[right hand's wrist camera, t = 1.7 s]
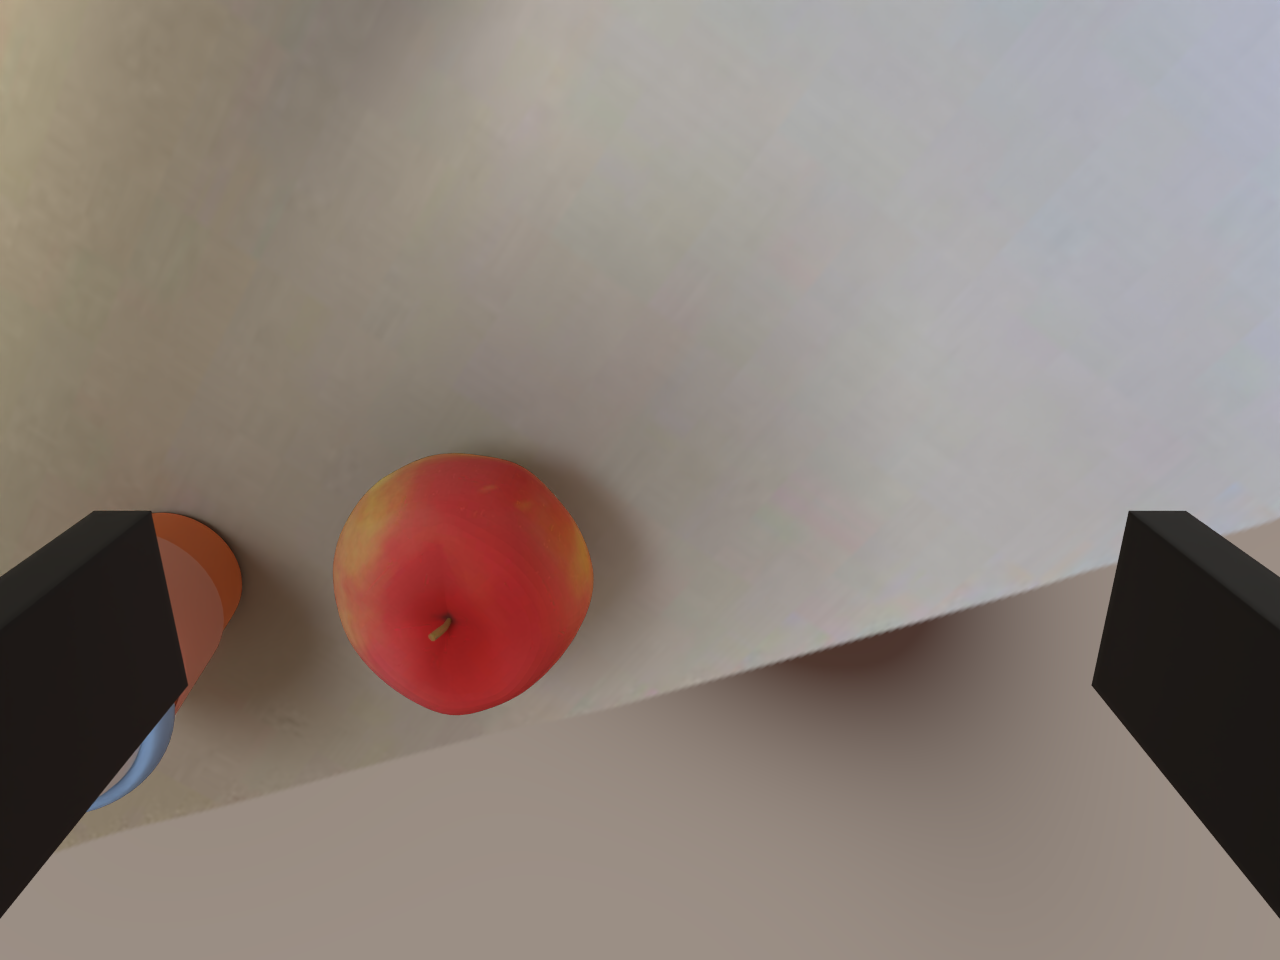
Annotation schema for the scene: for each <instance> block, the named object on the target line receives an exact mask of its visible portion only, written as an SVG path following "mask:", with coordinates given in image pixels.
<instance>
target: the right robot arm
mask: <svg viewBox="0 0 1280 960" xmlns="http://www.w3.org/2000/svg"><path fill="white" fill-rule="evenodd" d="M187 686H188V681H187V677H186V672H185V667H184V663H183V658H182V653H181V649H180V644H179V639H178V634H177V630H176V625H175V620H174V616H173V611H172V606H171V602H170V597H169V592H168V588H167V583H166V578H165V573H164V569H163V564H162V559H161V555H160V550H159V545H158V541H157V536H156V531H155V527H154V522H153V517H152V513H151V511H93V512H92V513H90V514H89V515H88V516H86V517H85V518H83V519H82V520H81V521H79V522H78V523H76V524H75V525H73V526H72V527H71V528H69V529H68V530H66V531H65V532H64V533H62V534H61V535H59V536H58V537H56V538H55V539H54V540H52V541H51V542H49V543H48V544H47V545H45V546H44V547H42V548H41V549H39V550H38V551H37V552H35V553H34V554H32V555H31V556H30V557H28V558H27V559H25V560H24V561H22V562H21V563H20V564H18V565H17V566H15V567H14V568H13V569H11V570H10V571H8V572H7V573H5V574H4V575H3V576H1V577H0V918H1V917H2V916H3V914H4V913H5V912H6V911H7V909H8V908H9V907H10V906H11V905H12V903H13V902H14V901H15V900H16V898H17V897H18V896H19V895H20V893H21V892H22V891H23V890H24V888H25V887H26V886H27V885H28V883H29V882H30V881H31V880H32V878H33V877H34V876H35V875H36V874H37V872H38V871H39V870H40V869H41V867H42V866H43V865H44V864H45V862H46V861H47V860H48V859H49V857H50V856H51V855H52V854H53V852H54V851H55V850H56V849H57V847H58V846H59V845H60V844H61V843H62V841H63V840H64V839H65V838H66V836H67V835H68V834H69V833H70V831H71V830H72V829H73V828H74V826H75V825H76V824H77V823H78V821H79V820H80V819H81V818H82V817H83V815H84V814H85V813H86V812H87V810H88V809H89V808H90V807H91V805H92V804H93V803H94V802H95V800H96V799H97V798H98V797H99V795H100V794H101V793H102V792H103V790H104V789H105V788H106V787H107V786H108V784H109V783H110V782H111V781H112V779H113V778H114V777H115V776H116V774H117V773H118V772H119V771H120V769H121V768H122V767H123V766H124V764H125V763H126V762H127V761H128V759H129V758H130V757H131V756H132V755H133V753H134V752H135V751H136V750H137V748H138V747H139V746H140V745H141V743H142V742H143V741H144V740H145V738H146V737H147V736H148V735H149V733H150V732H151V731H152V730H153V729H154V727H155V726H156V725H157V724H158V722H159V721H160V720H161V719H162V717H163V716H164V715H165V714H166V712H167V711H168V710H169V709H170V707H171V706H172V705H173V704H174V702H175V701H176V700H177V699H178V698H179V696H180V695H181V694H182V693H183V691H184V690H185V689H186V688H187ZM1092 686H1093V688H1094V689H1095V690H1096V691H1097V692H1098V694H1099V695H1100V696H1101V697H1102V699H1103V700H1104V701H1105V702H1106V704H1107V705H1108V706H1109V707H1110V709H1111V710H1112V711H1113V712H1114V714H1115V715H1116V716H1117V717H1118V719H1119V720H1120V721H1121V722H1122V724H1123V725H1124V726H1125V727H1126V729H1127V730H1128V731H1129V732H1130V733H1131V735H1132V736H1133V737H1134V738H1135V740H1136V741H1137V742H1138V743H1139V745H1140V746H1141V747H1142V748H1143V750H1144V751H1145V752H1146V753H1147V755H1148V756H1149V757H1150V758H1151V759H1152V761H1153V762H1154V763H1155V764H1156V766H1157V767H1158V768H1159V769H1160V771H1161V772H1162V773H1163V774H1164V776H1165V777H1166V778H1167V779H1168V781H1169V782H1170V783H1171V784H1172V785H1173V787H1174V788H1175V789H1176V790H1177V792H1178V793H1179V794H1180V795H1181V797H1182V798H1183V799H1184V800H1185V802H1186V803H1187V804H1188V805H1189V807H1190V808H1191V809H1192V810H1193V811H1194V813H1195V814H1196V815H1197V817H1198V818H1199V819H1200V820H1201V821H1202V823H1203V824H1204V825H1205V826H1206V828H1207V829H1208V830H1209V831H1210V833H1211V834H1212V835H1213V836H1214V838H1215V839H1216V840H1217V841H1218V843H1219V844H1220V845H1221V846H1222V847H1223V849H1224V850H1225V851H1226V852H1227V854H1228V855H1229V856H1230V857H1231V859H1232V860H1233V861H1234V862H1235V864H1236V865H1237V866H1238V867H1239V869H1240V870H1241V871H1242V872H1243V874H1244V875H1245V876H1246V877H1247V878H1248V880H1249V881H1250V882H1251V883H1252V885H1253V886H1254V887H1255V888H1256V890H1257V891H1258V892H1259V893H1260V895H1261V896H1262V897H1263V898H1264V900H1265V901H1266V902H1267V903H1268V905H1269V906H1270V907H1271V908H1272V909H1273V911H1274V912H1275V913H1276V914H1277V916H1278V917H1279V918H1280V577H1279V576H1277V575H1276V574H1275V573H1273V572H1272V571H1270V570H1269V569H1267V568H1266V567H1265V566H1263V565H1262V564H1260V563H1259V562H1257V561H1256V560H1255V559H1253V558H1252V557H1250V556H1249V555H1248V554H1246V553H1245V552H1243V551H1242V550H1240V549H1239V548H1238V547H1236V546H1235V545H1233V544H1232V543H1231V542H1229V541H1228V540H1226V539H1225V538H1224V537H1222V536H1221V535H1219V534H1218V533H1216V532H1215V531H1214V530H1212V529H1211V528H1209V527H1208V526H1207V525H1205V524H1204V523H1202V522H1201V521H1199V520H1198V519H1197V518H1195V517H1194V516H1192V515H1191V514H1190V513H1188V512H1187V511H1129V513H1128V517H1127V522H1126V527H1125V531H1124V536H1123V541H1122V545H1121V550H1120V555H1119V559H1118V564H1117V569H1116V573H1115V578H1114V583H1113V588H1112V592H1111V597H1110V602H1109V606H1108V611H1107V616H1106V620H1105V625H1104V630H1103V634H1102V639H1101V644H1100V649H1099V653H1098V658H1097V663H1096V667H1095V672H1094V677H1093V681H1092Z"/></svg>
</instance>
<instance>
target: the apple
mask: <svg viewBox="0 0 1280 960" xmlns="http://www.w3.org/2000/svg"><path fill="white" fill-rule="evenodd" d="M333 582H334V592H335V599H336V603H337V607H338V612H339V616H340V619H341V622H342V625H343V628H344V630H345V633H346V635H347V637H348V639H349V641H350V643H351V644H352V646H353V648H354V649H355V650H356V652H357V653H358V654H359V656H360V657H361V658H362V660H363V661H364V662H365V663H366V664H367V666H368V667H369V668H370V669H371V670H372V671H373V672H374V673H375V674H376V675H377V676H378V677H380V678H381V679H382V680H383V681H384V682H385V683H387V684H388V685H389V686H391V687H392V688H393V689H395V690H396V691H397V692H399V693H400V694H402V695H403V696H405V697H407V698H408V699H410V700H412V701H414V702H415V703H417V704H419V705H421V706H423V707H425V708H428V709H430V710H433V711H436V712H439V713H442V714H448V715H464V714H471V713H475V712H479V711H483V710H486V709H489V708H492V707H495V706H497V705H500V704H502V703H504V702H506V701H509V700H511V699H512V698H514V697H516V696H518V695H519V694H521V693H523V692H524V691H526V690H527V689H528V688H530V687H531V686H532V685H533V684H534V683H536V682H537V681H538V680H539V679H540V678H541V677H543V676H544V675H545V674H546V673H547V672H548V671H549V669H550V668H551V667H552V666H553V665H554V664H555V663H556V662H557V661H558V660H559V658H560V657H561V656H562V655H563V653H564V652H565V650H566V649H567V648H568V646H569V645H570V643H571V642H572V640H573V639H574V637H575V635H576V634H577V632H578V630H579V628H580V626H581V624H582V622H583V620H584V618H585V616H586V613H587V610H588V607H589V604H590V601H591V597H592V591H593V568H592V563H591V559H590V555H589V552H588V549H587V546H586V543H585V541H584V539H583V536H582V534H581V532H580V530H579V528H578V527H577V525H576V523H575V521H574V520H573V518H572V517H571V515H570V514H569V512H568V511H567V510H566V509H565V507H564V506H563V505H562V504H561V502H560V501H559V500H558V499H557V498H556V497H555V495H554V494H553V493H552V492H551V491H550V490H549V489H548V488H547V487H546V486H545V485H544V484H543V483H542V482H541V481H540V480H539V479H538V478H537V477H536V476H535V475H534V474H532V473H531V472H530V471H528V470H527V469H525V468H524V467H522V466H520V465H518V464H515V463H513V462H510V461H507V460H503V459H498V458H493V457H487V456H480V455H473V454H462V453H449V454H438V455H432V456H428V457H425V458H422V459H419V460H417V461H414V462H412V463H410V464H408V465H406V466H404V467H402V468H400V469H398V470H396V471H394V472H393V473H391V474H389V475H387V476H386V477H384V478H383V479H381V480H380V481H378V482H377V483H376V484H375V485H374V486H373V487H372V488H371V489H370V490H369V491H367V493H366V494H365V495H364V496H363V497H362V498H361V500H360V501H359V502H358V504H357V505H356V506H355V508H354V509H353V511H352V513H351V514H350V516H349V518H348V520H347V521H346V523H345V525H344V527H343V530H342V532H341V534H340V537H339V540H338V543H337V546H336V551H335V557H334V563H333Z"/></svg>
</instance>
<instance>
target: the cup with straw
mask: <svg viewBox="0 0 1280 960" xmlns="http://www.w3.org/2000/svg"><path fill="white" fill-rule="evenodd" d="M152 517H153V522H154V527H155V531H156V536H157V541H158V545H159V550H160V555H161V559H162V564H163V569H164V573H165V578H166V583H167V588H168V592H169V597H170V602H171V606H172V611H173V616H174V620H175V625H176V630H177V634H178V639H179V644H180V649H181V653H182V658H183V663H184V667H185V672H186V677H187V681H188V686H187V688H186V689H185V690H184V691H183V693H182V694H181V695H180V696H179V698H178V699H177V700H176V701H175V702H174V704H173V705H172V706H171V707H170V709H169V710H168V711H167V712H166V714H165V715H164V716H163V717H162V719H161V720H160V721H159V722H158V724H157V725H156V726H155V727H154V729H153V730H152V731H151V732H150V733H149V735H148V736H147V737H146V738H145V740H144V741H143V742H142V743H141V745H140V746H139V747H138V748H137V750H136V751H135V752H134V753H133V755H132V756H131V757H130V758H129V759H128V761H127V762H126V763H125V764H124V766H123V767H122V768H121V769H120V771H119V772H118V773H117V774H116V776H115V777H114V778H113V779H112V781H111V782H110V783H109V784H108V786H107V787H106V788H105V789H104V790H103V792H102V793H101V794H100V795H99V797H98V798H97V799H96V800H95V802H94V803H93V804H92V805H91V807H90V808H89V809H88V810H87V812H88V811H92V810H95V809H98V808H101V807H103V806H106V805H108V804H110V803H112V802H114V801H116V800H118V799H120V798H122V797H123V796H125V795H126V794H128V793H129V792H131V791H132V790H133V789H135V788H136V787H137V786H138V785H140V784H141V783H142V782H143V781H144V780H145V779H146V778H147V777H148V776H149V775H150V774H151V772H152V771H153V770H154V769H155V767H156V766H157V765H158V763H159V762H160V760H161V758H162V757H163V755H164V753H165V751H166V749H167V746H168V744H169V742H170V739H171V735H172V731H173V726H174V719H175V715H176V713H177V711H178V710H179V708H180V707H181V705H182V703H183V702H184V700H185V699H186V697H187V696H188V694H189V692H190V691H191V689H192V688H193V686H194V684H195V683H196V681H197V680H198V678H199V676H200V675H201V673H202V672H203V670H204V668H205V667H206V665H207V664H208V662H209V661H210V659H211V657H212V656H213V654H214V652H215V651H216V649H217V647H218V645H219V642H220V640H221V637H222V632H223V630H224V629H225V627H226V625H227V624H228V622H229V621H230V619H231V617H232V616H233V614H234V612H235V610H236V609H237V606H238V604H239V601H240V598H241V592H242V577H241V572H240V568H239V565H238V562H237V560H236V558H235V556H234V554H233V552H232V551H231V549H230V548H229V547H228V545H227V544H226V543H225V542H224V540H223V539H222V538H221V537H220V536H219V535H217V534H216V533H215V532H214V531H213V530H211V529H210V528H208V527H207V526H205V525H204V524H202V523H200V522H198V521H196V520H194V519H191V518H188V517H186V516H182V515H178V514H172V513H152Z"/></svg>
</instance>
